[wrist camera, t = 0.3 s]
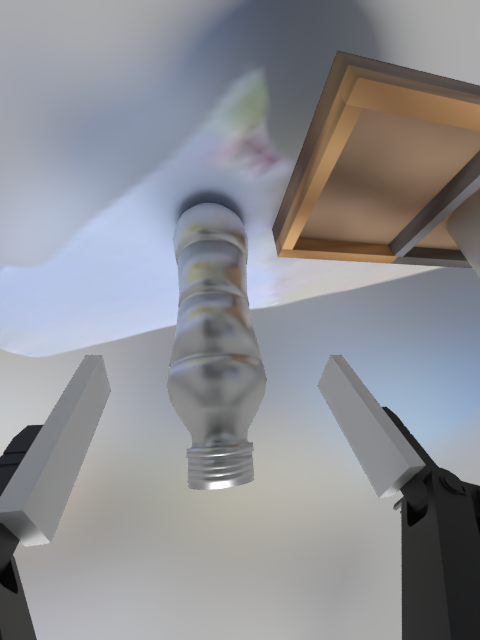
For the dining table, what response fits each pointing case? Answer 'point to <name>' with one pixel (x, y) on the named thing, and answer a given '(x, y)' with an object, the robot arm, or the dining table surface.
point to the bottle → (467, 229)
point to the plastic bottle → (215, 348)
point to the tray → (383, 167)
